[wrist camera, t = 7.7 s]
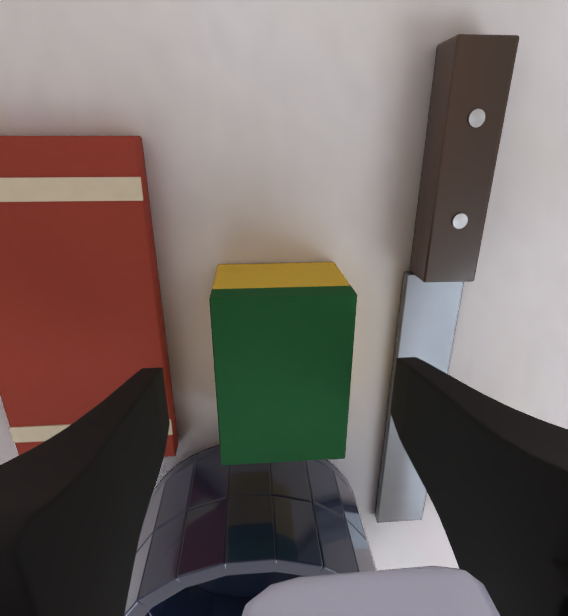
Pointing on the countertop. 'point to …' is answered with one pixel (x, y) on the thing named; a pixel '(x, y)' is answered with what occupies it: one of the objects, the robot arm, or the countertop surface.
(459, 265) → the knife
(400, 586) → the robot arm
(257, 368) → the sponge
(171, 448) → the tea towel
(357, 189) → the countertop surface
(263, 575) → the pot
